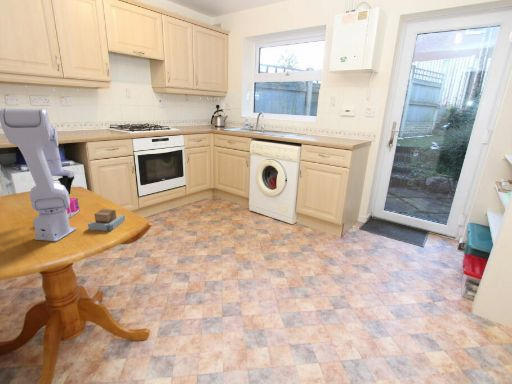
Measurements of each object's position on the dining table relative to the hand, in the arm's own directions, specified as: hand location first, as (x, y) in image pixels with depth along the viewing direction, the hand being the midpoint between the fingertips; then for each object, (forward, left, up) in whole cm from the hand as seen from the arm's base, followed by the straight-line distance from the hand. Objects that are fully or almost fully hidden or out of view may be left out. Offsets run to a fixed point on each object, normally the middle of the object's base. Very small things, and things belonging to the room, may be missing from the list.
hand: (58, 194), depth 105 cm
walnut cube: (-3, -20, -10) cm, 22 cm away
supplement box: (+7, +1, -7) cm, 10 cm away
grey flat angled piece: (-3, -20, -10) cm, 23 cm away
